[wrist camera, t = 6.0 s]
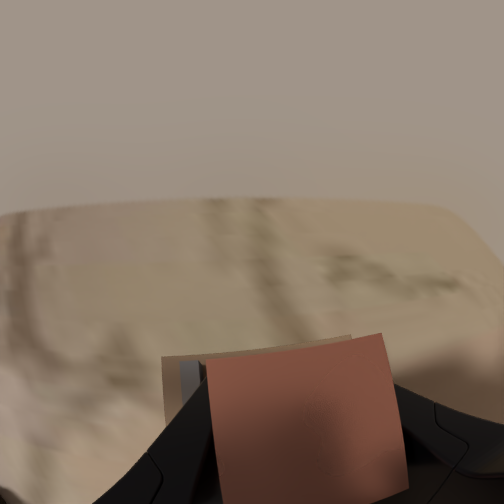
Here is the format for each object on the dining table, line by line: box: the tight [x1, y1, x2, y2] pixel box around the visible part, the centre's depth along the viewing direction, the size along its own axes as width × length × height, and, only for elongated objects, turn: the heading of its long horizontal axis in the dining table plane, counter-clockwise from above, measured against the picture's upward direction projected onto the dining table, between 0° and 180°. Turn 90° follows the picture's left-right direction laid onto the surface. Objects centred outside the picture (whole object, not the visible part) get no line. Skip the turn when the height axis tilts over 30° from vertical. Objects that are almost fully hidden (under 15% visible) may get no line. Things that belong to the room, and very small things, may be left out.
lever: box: [206, 333, 409, 504], centre depth 7 cm, size 7×4×9 cm, turn 7°
